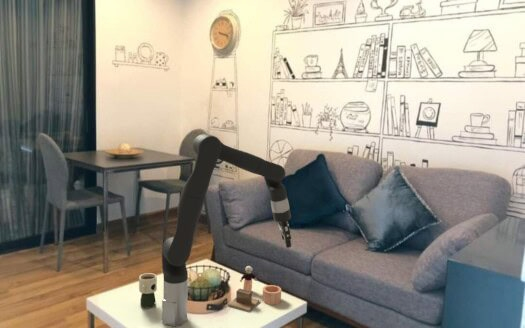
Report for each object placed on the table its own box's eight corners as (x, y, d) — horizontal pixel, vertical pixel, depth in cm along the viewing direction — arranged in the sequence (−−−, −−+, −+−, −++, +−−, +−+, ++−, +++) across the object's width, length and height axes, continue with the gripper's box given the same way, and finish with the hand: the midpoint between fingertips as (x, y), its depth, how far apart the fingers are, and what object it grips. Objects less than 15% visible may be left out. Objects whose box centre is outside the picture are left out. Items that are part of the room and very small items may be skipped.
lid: (248, 311, 180) (249, 298, 179) (227, 306, 184) (228, 293, 183) (259, 301, 189) (259, 289, 188) (239, 296, 193) (239, 284, 192)
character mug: (151, 312, 177) (151, 282, 175) (135, 311, 178) (134, 281, 176) (160, 300, 188) (160, 271, 186) (144, 299, 189) (144, 270, 187)
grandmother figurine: (241, 295, 196) (242, 268, 194) (238, 291, 199) (239, 265, 197) (257, 292, 199) (258, 266, 197) (254, 289, 202) (255, 263, 200)
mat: (249, 314, 179) (249, 312, 179) (226, 307, 184) (226, 306, 184) (260, 303, 189) (260, 301, 189) (238, 297, 194) (238, 295, 194)
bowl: (276, 307, 185) (276, 294, 185) (259, 303, 189) (259, 290, 188) (283, 299, 193) (284, 287, 192) (267, 295, 196) (267, 283, 195)
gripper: (269, 205, 192) (275, 238, 196) (275, 216, 178) (281, 251, 182) (285, 201, 192) (291, 234, 197) (292, 212, 179) (298, 247, 183)
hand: (286, 243), depth 189 cm, fingers open, 8 cm apart
